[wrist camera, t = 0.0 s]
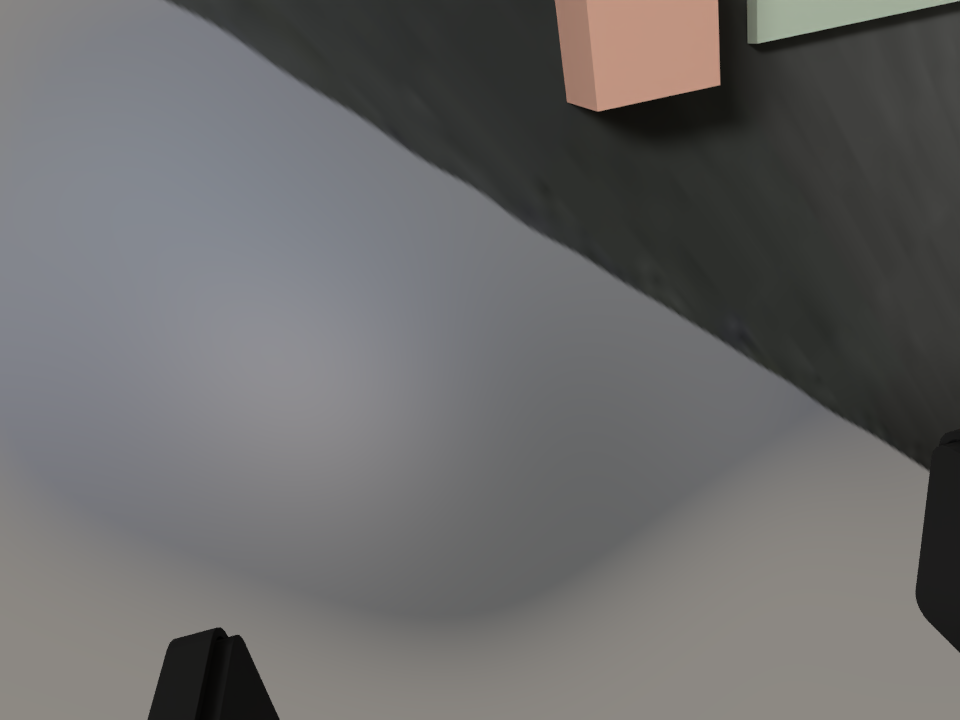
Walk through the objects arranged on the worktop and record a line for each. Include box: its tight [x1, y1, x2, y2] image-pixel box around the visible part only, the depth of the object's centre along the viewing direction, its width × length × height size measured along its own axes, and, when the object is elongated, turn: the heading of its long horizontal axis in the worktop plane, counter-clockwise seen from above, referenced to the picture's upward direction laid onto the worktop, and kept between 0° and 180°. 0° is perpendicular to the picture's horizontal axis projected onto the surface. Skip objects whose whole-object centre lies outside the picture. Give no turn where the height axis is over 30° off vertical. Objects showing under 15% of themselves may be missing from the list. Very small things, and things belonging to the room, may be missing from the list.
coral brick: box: [555, 0, 720, 112], centre depth 34 cm, size 6×6×5 cm
